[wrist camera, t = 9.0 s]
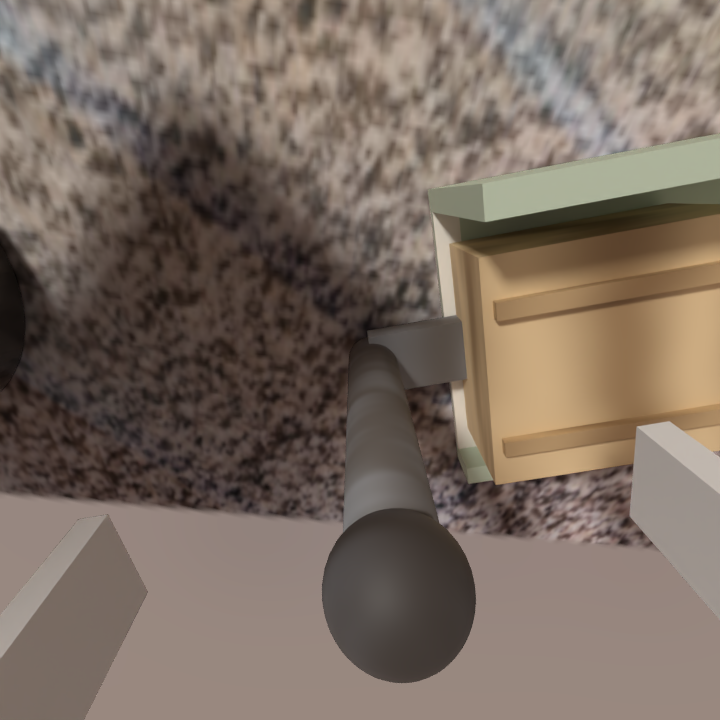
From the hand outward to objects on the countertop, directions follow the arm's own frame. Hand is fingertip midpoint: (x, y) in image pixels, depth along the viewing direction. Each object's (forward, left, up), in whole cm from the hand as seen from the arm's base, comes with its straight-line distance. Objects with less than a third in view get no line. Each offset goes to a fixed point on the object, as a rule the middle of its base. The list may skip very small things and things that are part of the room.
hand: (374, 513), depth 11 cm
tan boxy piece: (+7, 0, -12) cm, 14 cm away
